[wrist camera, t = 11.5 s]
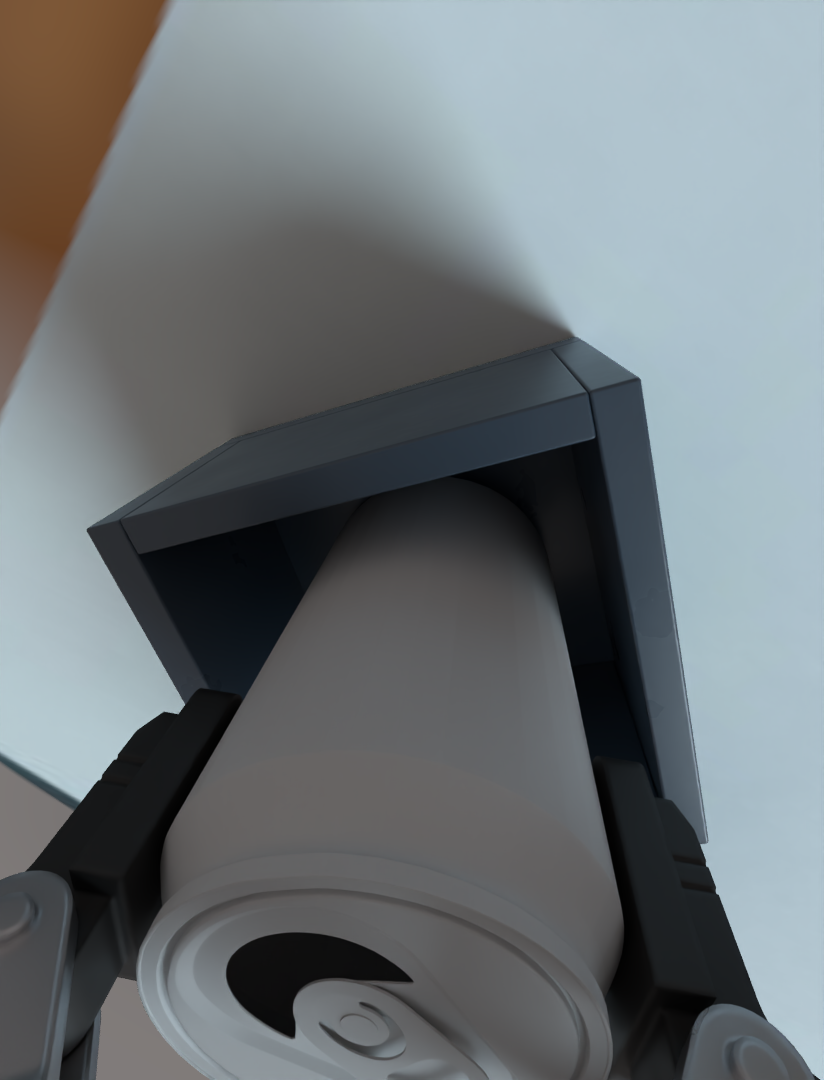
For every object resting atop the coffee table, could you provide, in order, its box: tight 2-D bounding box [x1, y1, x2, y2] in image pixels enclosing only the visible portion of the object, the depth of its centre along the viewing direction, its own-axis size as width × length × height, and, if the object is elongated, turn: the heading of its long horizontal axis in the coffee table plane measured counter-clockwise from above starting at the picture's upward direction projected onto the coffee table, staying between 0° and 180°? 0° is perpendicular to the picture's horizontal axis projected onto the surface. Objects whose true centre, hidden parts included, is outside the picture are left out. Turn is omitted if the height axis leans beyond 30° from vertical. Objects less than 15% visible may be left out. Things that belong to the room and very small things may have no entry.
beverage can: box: [136, 477, 624, 1080], centre depth 12 cm, size 6×6×12 cm
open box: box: [87, 337, 708, 844], centre depth 15 cm, size 11×11×7 cm
